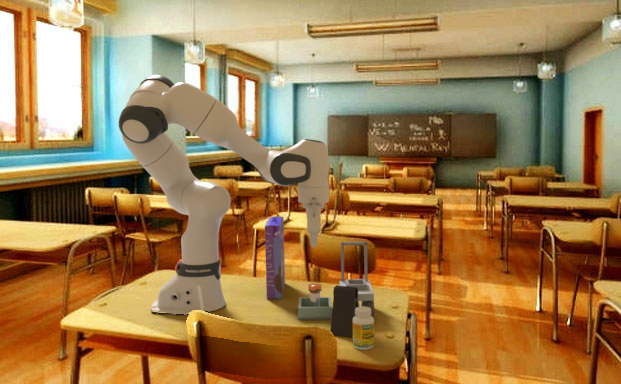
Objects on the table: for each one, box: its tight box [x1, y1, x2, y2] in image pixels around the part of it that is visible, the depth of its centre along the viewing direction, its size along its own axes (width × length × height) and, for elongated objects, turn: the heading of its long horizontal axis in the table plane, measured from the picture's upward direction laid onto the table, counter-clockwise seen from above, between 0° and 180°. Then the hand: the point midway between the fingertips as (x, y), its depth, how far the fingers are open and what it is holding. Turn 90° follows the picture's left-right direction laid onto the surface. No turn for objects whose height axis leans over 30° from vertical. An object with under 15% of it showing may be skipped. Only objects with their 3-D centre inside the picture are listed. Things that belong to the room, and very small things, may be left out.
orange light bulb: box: [308, 282, 323, 307], centre depth 158 cm, size 4×4×8 cm
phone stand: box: [329, 285, 360, 338], centre depth 144 cm, size 9×6×12 cm, turn 157°
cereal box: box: [264, 216, 286, 300], centre depth 180 cm, size 17×5×24 cm, turn 179°
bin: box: [297, 296, 333, 321], centre depth 158 cm, size 10×10×4 cm
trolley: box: [339, 241, 375, 319], centre depth 156 cm, size 9×14×20 cm, turn 0°
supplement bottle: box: [352, 306, 375, 351], centre depth 134 cm, size 5×5×10 cm
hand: (313, 243), depth 156 cm, fingers open, 8 cm apart
